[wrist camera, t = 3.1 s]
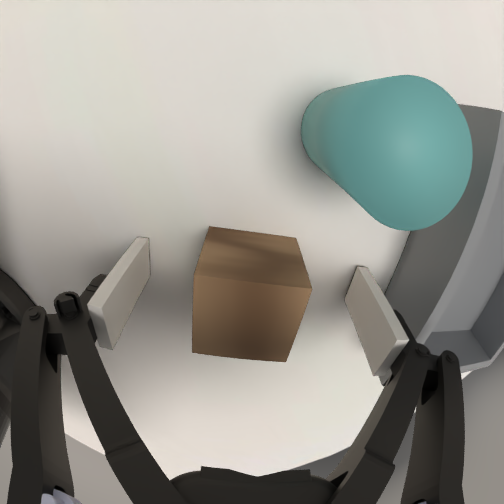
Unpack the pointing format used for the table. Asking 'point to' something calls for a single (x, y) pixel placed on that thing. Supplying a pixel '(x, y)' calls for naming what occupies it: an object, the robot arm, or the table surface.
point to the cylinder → (392, 147)
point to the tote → (460, 260)
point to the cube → (248, 295)
